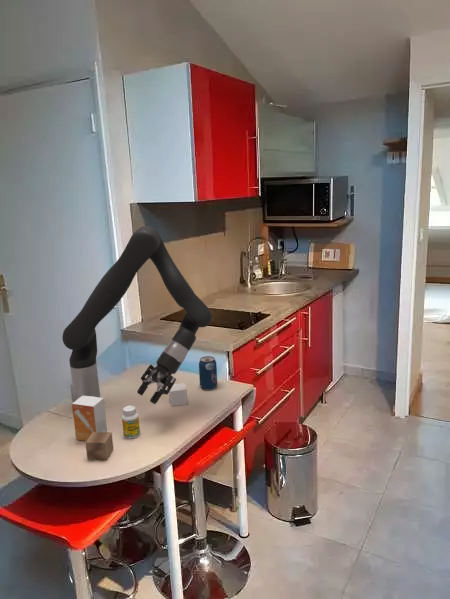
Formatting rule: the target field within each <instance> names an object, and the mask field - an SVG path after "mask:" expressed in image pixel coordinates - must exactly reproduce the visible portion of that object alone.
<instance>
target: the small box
mask: <svg viewBox="0 0 450 599" xmlns="http://www.w3.org/2000/svg"><path fill="white" fill-rule="evenodd" d="M105 406H106V405H105V398H104V397H101V396H100V397H93V396H81V397H80V398H79V399H77V400H76V401H75V402H73V403H71V407H72V408H71V409H72V414H73V415H72V416H73V424H74V431H75V432H74V433H75V440H77V441H84V442H86V441H87V440H88V438H89V437H90V435H91V434H92V433H93V432H108V428H107V426H108V425H107V424H108V423H107V416H106V407H105Z"/></svg>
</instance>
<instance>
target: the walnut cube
mask: <svg viewBox="0 0 450 599" xmlns="http://www.w3.org/2000/svg"><path fill="white" fill-rule="evenodd" d="M84 442H85V443H84V444H85V451H86V458H87V459H86V460H87V461H105V462H106V461H108V459H109V457H110V456H111V455H112V453H113V451H114V444H113V443H114V442H113V432H112V431H111V432H108V431H107V432H93V433H92V434H91V435H90V437H89V438H88V440H87V441H84Z"/></svg>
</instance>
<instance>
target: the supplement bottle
mask: <svg viewBox="0 0 450 599" xmlns="http://www.w3.org/2000/svg"><path fill="white" fill-rule="evenodd" d="M122 412H123V414H122V415H121V423H122V434H123V437H124V438H126V439H129V440H130V439H131V440H132V439H137V437H139V436H140V434H141V428H140V418H139V413H138V412H137V409H136V406H135V405H127V406H124V407H123V408H122Z"/></svg>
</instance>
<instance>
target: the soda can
mask: <svg viewBox="0 0 450 599" xmlns="http://www.w3.org/2000/svg"><path fill="white" fill-rule="evenodd" d="M217 367H218V366H217V361H216V358H215V357H214V356H211V355H206V356H201V358H200V359H199V362H198V371H199V372H198V374H199V375H198V376H199V386H200V388H201V389H202V390H205V391H210V390H211V391H212V390H214V389H216V388H217V386H218V370H217V369H218V368H217Z"/></svg>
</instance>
